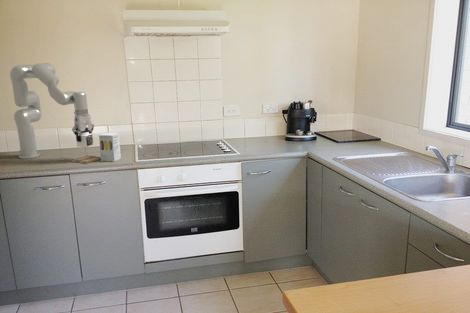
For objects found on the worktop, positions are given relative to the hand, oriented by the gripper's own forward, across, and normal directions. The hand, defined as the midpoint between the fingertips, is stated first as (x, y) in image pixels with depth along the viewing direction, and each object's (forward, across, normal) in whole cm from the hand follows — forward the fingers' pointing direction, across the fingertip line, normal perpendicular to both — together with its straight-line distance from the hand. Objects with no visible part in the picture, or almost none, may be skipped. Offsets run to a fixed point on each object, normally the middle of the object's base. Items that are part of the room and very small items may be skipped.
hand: (84, 140), depth 257 cm
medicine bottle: (+4, 0, 0) cm, 4 cm away
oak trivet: (+13, 0, 0) cm, 13 cm away
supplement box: (+14, +8, -13) cm, 20 cm away
